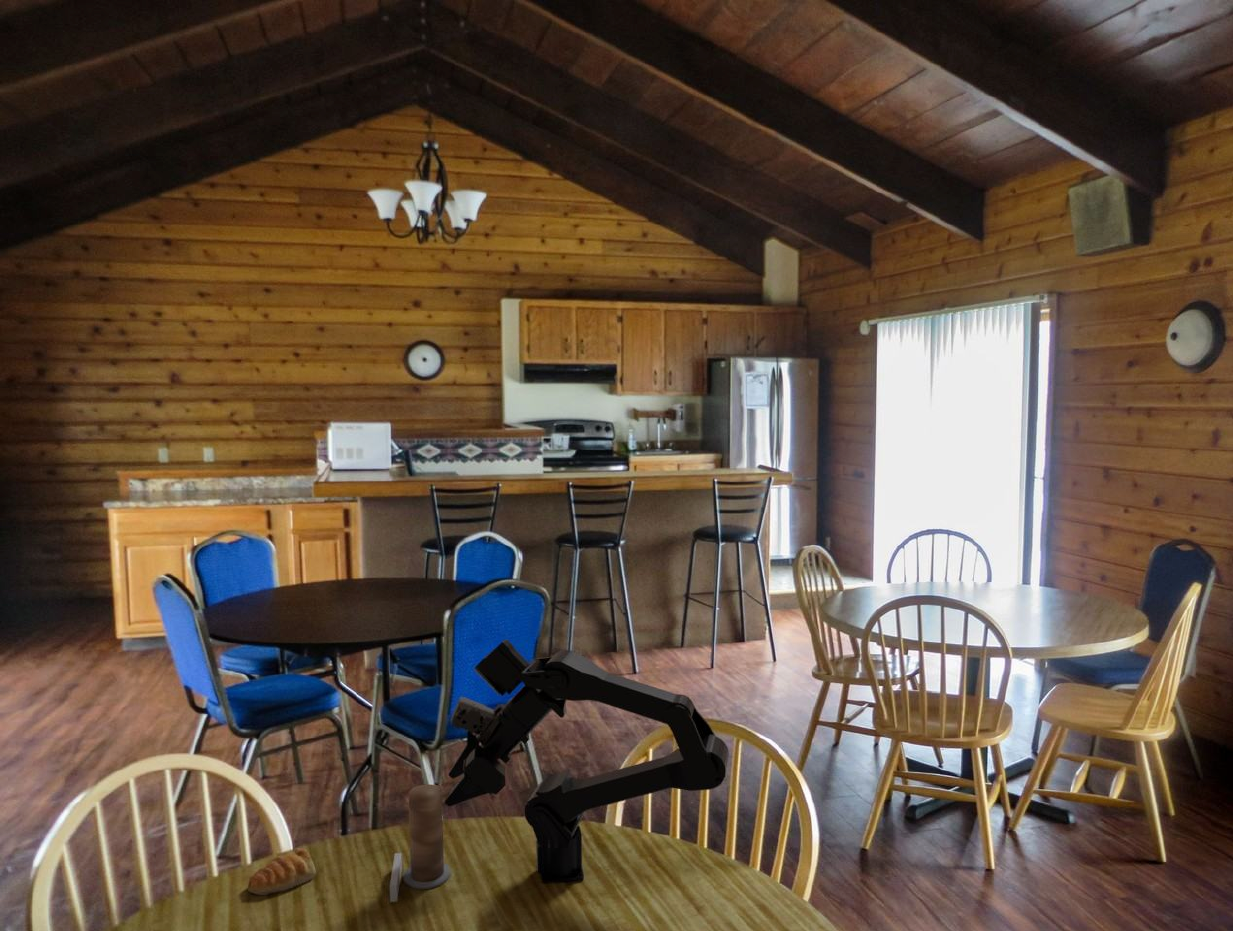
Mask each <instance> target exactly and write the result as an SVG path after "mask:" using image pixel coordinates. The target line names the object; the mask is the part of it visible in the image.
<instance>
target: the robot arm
mask: <svg viewBox="0 0 1233 931" xmlns="http://www.w3.org/2000/svg"><path fill="white" fill-rule="evenodd" d="M473 670H474V671H475V672H476V674H478V675H479V677H480V678H481V679H483V681H484V682H485V683H486V684H487V685H488V686H490V688H491V689H492V690H493V691H494V692H495V693H496V694H497V695H498V696H499V695H500V696H501V697H503V696H504V695H505V694H507V695H508V696H510V694H511V693H512V692H513V691H514V690H516V688H517V687H518V686H519V685H520V684H521V683H523V684H524V685H523V686H522V687H521V689H519V690H518V691H517V692H516V693H515V694H514V695H513V697H511V699H509V701H507V702H506V703H505V704H503V703H501V704H500V703H499V704H497V706H495V707H494V708H491V707H488V706H486V705H485V704H483V703H480V702H477V701H475V700H472V699H470V698H468V697H464V696H460V697H459V699H458V700H457V703H456V705H455V707H454V709H453V712H452V713H451V719H450V725H451V726H452V727H453V728H456V729H462V730H465V731H466V735H467V736H466V743H465V745H464V747H463V749H462V751H461V752H460V753H459V756H458V757H457V758H456V760H455V762H454V764H453V765H452V767H451V769H450V770H449V772H448V776H449V777H450V778H451V779H456V778H458V777H459V776H461V775H462V776H461V777H460V778H459V780H458V781H457V783H456V784H455V785H454V787H453V788H452V790H451V791H450V792H449V794H448V795H447V797H446V798H445V799H444V804H446V806H447V807H452V806H455V805H457V804H460V803H464V802H465V801H469V800H472V799H475V798H478V797H481V796H484V795H487V794H489V795H498V794H499V792H501V791H502V789H504V787H506V766H505V765H504V764H507V763H508V762H510V760H511V754H512V753H513V752H514V750H515V749H516V748H517V747H518V746H519V745H520V744H521V743H523V744H524V745H526V744H527V742H528V741H530V734H531V733H532V732H533V731H534V730H535V729H536V728H537V727H538V726H539V725H540V723H542V721H543V720H545V718H546V717H547V716H549V714H551V713H552V711H553V712H554V713H555V714H556V715H557V716H558V717H559V718H561V719H563V718H564V717H565V714H566V713H567V704H566V702H567V701H571V702H572V701H573V702H582V701H583V702H585V701H592V702H598V703H601V704H603V705H607V706H609V707H612V708H613V707H614V708H616V709H619V710H622V711H625V712H627V713H628V712H629V713H631V714H634V715H638V716H641V717H644V718H646V719H650V720H653V721H656V722H658V723H662V724H664V725H668V727H669V729H670V731H671V732H672V735H673V737H674V740H675V743H676V745H677V749H675V750H674V751H672V752H671V753H669V754H668V755H666V756H663V757H658V758H656V759H652V760H648V761H645V762H641V763H637V764H633V765H630V766H627V767H623V768H619V769H615V770H612V771H609V772H604V773H600V774H597V775H593V776H590V777H586V778H578V777H573V775H572V772H571V769H570V768H569V769H568V768H567V769H566V770H563V771H561V772H558V773H554V774H553V773H547V774H546V776H545V778H544V779H543V780H541V781H540V782H539V783H538V785H537V787H536V788H535V790H534V791H533V793H532V794H531V796H530V797H529V799H528V801H527V802H526V804H525V806H524V816H525V820H526V822H527V823H528V825H529V826H531V828H532V830H533V832H534V835H535V838H536V840H535V844H536V845H535V850H536V852H535V856H536V858H535V859H536V862H535V864H536V871H537V873H538V874H539V875H540V880H541V883H543V884H547V883H549V884H550V883H558V882H570V881H579V880H583V879H585V874H584V869H583V847H582V846H583V844H582V843H583V838H582V837H583V835H582V832H581V827H580V823H582V820H583V817H584V815H585V812H588V811H589V810H594V809H597V808H603V807H606V806H609V805H613V804H617V803H620V802H624V801H627V800H632V799H636V798H638V797H639V798H641V797H643V796H646V795H651V794H654V793H658V792H662V791H665V790H669V789H677V790H682V791H687V792H696V791H697V792H700V791H707V790H708V791H710V790H713V789H717V788H719V786H721V785H722V784H723V781H724V780H725V777H726V773H727V768H728V763H729V757H730V751H729V748H728V745H727V744H726V742H725V741H724V740H723V739H722V738H720V737H718V736H716V734H715V732H714V731H713V729H712V727H711V726H710V724H709V723H708V721H707V720H706V719H705V717H703V715H702V714H701V713H700V712H699V711H698V709H697V708H696V706H695V704H694V703H693V699H691V698H690V697H689V696H687V695H685V694H680V693H679V694H677V693H674V692H671V691H668V690H664V689H661V688H658V687H655V686H652V685H649V684H647V683H646V684H645V683H643V682H639V681H636V680H633V679H631V678H626V677H623V676H621V675H617V674H614V673H611V672H609V671H606V670H604V669H602V668H601V667H600V666H599V665H598V664H596V663H595V662H594V661H592V659H590V658H587V657H585V656H584V655H582V654H579V653H578V652H576V651H574V650H570V649H562V650H559V651H558V652H556V653H555V654H554V655H553V656H546V657H543V656H542V657H536V658H533V659H532V660H531V661H530V662H528V660H527V659H526V658H525V657H524V656H522V654H521V653H520V652H519V651H518V650H517V649H516V648H515V646H514V645H513V643H511V642H510V640H509V639H508V638H505V639H503V640H502V641H501V642H500V643H499V644H498V645H497V646H496V647H494V648H493V649H492V650H491V651H490V652H489V653H488V654H486V655H485V656H484V658H482V659H481V661H479V662H478V664H477V665H475V667H474V668H473ZM499 759H500V760H501V761H502V762H503V763H504V764H503V763H502V762H500V760H499Z"/></svg>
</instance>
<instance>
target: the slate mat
mask: <svg viewBox="0 0 1233 931" xmlns="http://www.w3.org/2000/svg"><path fill="white" fill-rule="evenodd" d="M450 868H451V867H450V866H449V865H447V864H446V863H445V862H444V873H443V875H442V876H441V877H440V878H438V879H436V880H434V881H430V882H418V881H415V880H413V879H412V878H411V866H409V867H408V868H407V869H405V871H404V872H403V882H404V884H405V885H406V886H407V887H409V888H411V889H416V890H428V889H429V890H430V889H433V888H437V887H440V886H441V885H443V884H445V883H446V882H447V881H448V880H449V878H450V876H451V869H450Z"/></svg>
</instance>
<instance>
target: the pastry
mask: <svg viewBox="0 0 1233 931" xmlns="http://www.w3.org/2000/svg"><path fill="white" fill-rule="evenodd" d="M316 874H317V870H316V867H315V864H314V862H313V859H312V858H311V854H310V853H309V852H308V851H307V850H306V849H305V848H299V847H297V848H295V849H294V850H293V851H291V852H288V853H284V854H281V855H278V856H276V857H273V859H271V861H269V863H267V864H265V865H264V866H262V867H261V868H259V869H258V870H257V871H255V873H253V875H251V876H250V878H249V881H248V886H247V890H248V891H249V892H250V893H252V894H255V895H258V896H267V895H270V894H274V893H275V894H276V893H278V892H279V891H280V892H285V890H286V891H288V890H289V889H292V888H294V887H293V886H295V887H297V886H300V885H302V883H303V884H305V883H307V882H309V881H311V880H312V879H314V877H315V875H316ZM299 884H300V885H299ZM296 885H297V886H296ZM291 887H292V888H291ZM280 892H279V893H280ZM269 893H270V894H269Z"/></svg>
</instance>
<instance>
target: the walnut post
mask: <svg viewBox="0 0 1233 931" xmlns="http://www.w3.org/2000/svg"><path fill="white" fill-rule="evenodd" d="M443 811H444V810H443V787H441V786H439V785H436V784H421V785H417V786H414V787H412V788H411V789H410V790H408V815H409V816H408V818H409V819H408V821H409V855H410V856H409V857H410V858H409V859H410V862H409V863H410V867H411V878H412V879H413V880H415V881H418V882H430V881H434V880H436V879H438V878H440V877H441V876H442V875H443V873H444V863H445V862H444V861H445V858H444V857H445V856H444V818H443V817H444V816H443V815H444V813H443Z"/></svg>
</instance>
